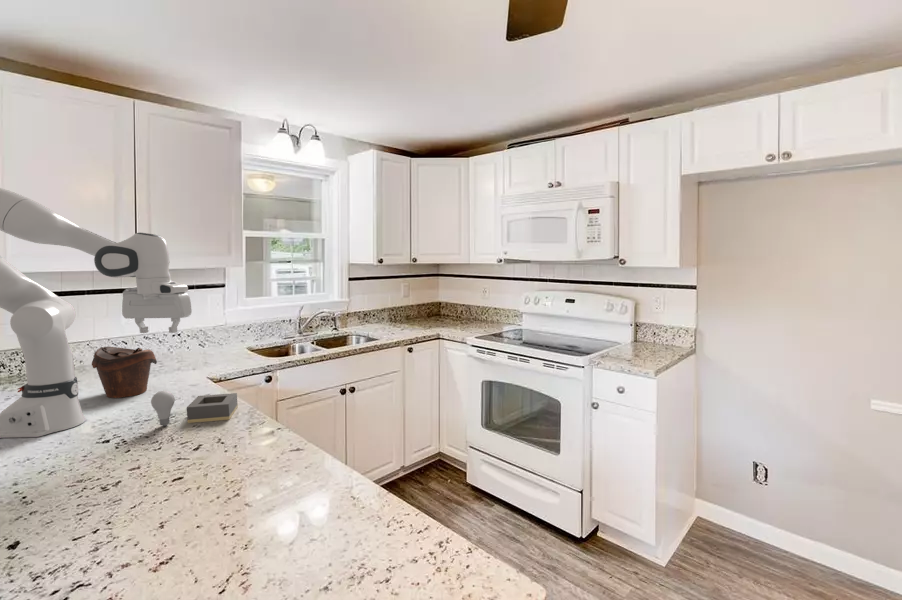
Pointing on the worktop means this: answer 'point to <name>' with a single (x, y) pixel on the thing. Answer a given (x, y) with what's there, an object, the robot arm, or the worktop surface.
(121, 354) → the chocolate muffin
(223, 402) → the socket block
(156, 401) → the lightbulb
